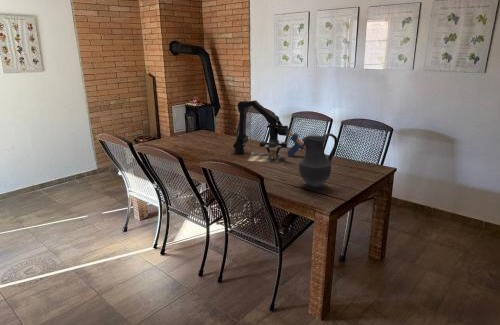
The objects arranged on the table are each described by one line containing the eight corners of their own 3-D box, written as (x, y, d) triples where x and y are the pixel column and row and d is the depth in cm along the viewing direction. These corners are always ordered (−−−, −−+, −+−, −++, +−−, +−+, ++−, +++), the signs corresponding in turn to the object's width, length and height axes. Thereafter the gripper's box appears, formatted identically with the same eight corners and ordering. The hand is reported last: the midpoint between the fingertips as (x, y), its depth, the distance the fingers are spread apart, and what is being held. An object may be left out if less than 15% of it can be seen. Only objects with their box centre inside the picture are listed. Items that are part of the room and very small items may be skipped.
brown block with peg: (268, 160, 233) (268, 153, 231) (270, 156, 242) (270, 149, 241) (275, 160, 232) (275, 153, 231) (277, 156, 241) (277, 149, 240)
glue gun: (310, 172, 247) (323, 157, 241) (276, 146, 246) (288, 130, 240) (310, 169, 252) (323, 154, 246) (277, 143, 251) (289, 128, 245)
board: (247, 162, 235) (247, 157, 234) (251, 157, 248) (251, 152, 247) (277, 164, 231) (278, 159, 229) (280, 158, 244) (280, 153, 243)
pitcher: (294, 183, 198) (296, 131, 189) (327, 180, 202) (330, 130, 193) (305, 194, 181) (308, 139, 172) (341, 191, 186) (345, 137, 177)
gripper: (258, 136, 228) (258, 159, 233) (286, 137, 224) (285, 160, 229) (260, 132, 238) (260, 154, 243) (287, 134, 235) (287, 155, 239)
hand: (273, 156), depth 238 cm, fingers closed on brown block with peg, 4 cm apart
